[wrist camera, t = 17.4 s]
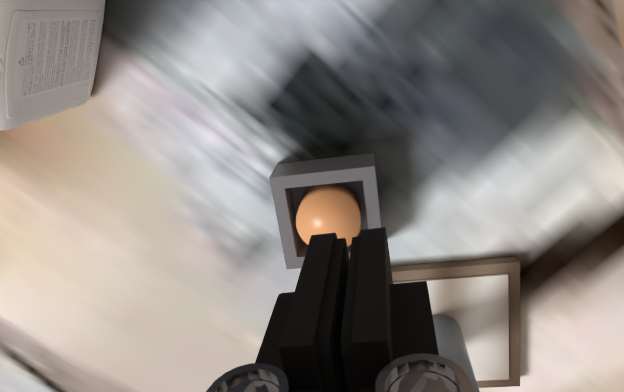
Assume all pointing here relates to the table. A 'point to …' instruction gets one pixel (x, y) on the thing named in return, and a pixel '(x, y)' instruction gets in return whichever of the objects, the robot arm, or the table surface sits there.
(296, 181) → the button housing
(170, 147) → the table surface
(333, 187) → the button
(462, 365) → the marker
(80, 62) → the photo printer
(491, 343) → the board
